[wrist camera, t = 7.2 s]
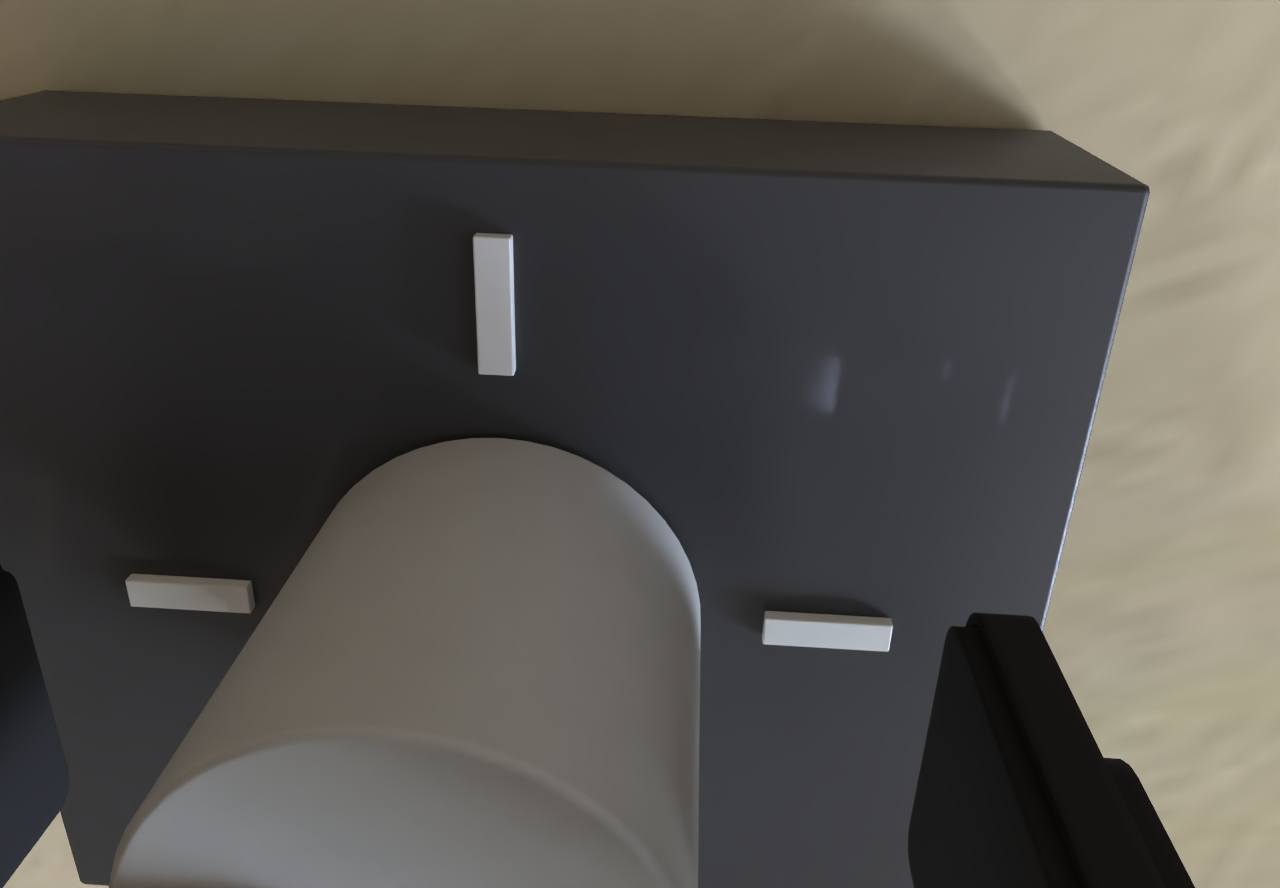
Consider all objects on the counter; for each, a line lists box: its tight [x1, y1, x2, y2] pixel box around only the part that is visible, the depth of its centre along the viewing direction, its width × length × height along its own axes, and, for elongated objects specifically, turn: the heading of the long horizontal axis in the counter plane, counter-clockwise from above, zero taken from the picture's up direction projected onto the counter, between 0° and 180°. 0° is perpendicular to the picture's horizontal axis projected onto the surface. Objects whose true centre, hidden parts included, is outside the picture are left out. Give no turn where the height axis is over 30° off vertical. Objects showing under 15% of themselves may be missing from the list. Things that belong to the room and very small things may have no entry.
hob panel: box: [0, 90, 1150, 888], centre depth 13 cm, size 10×12×3 cm
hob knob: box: [109, 438, 701, 888], centre depth 10 cm, size 4×4×5 cm
